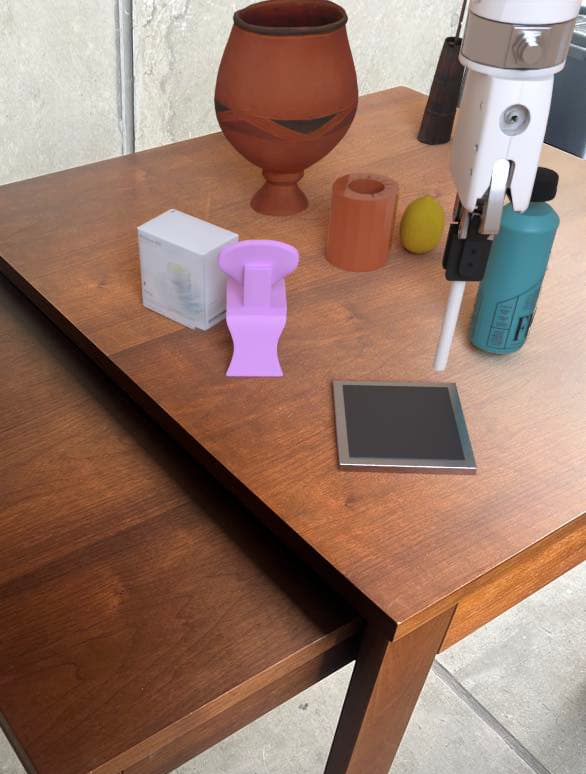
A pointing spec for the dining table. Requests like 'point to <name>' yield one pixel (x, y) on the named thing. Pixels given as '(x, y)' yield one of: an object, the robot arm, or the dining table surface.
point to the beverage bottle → (516, 271)
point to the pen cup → (361, 221)
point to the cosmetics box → (184, 268)
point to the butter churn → (444, 91)
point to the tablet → (401, 428)
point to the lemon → (422, 225)
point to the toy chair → (256, 302)
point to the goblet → (286, 93)
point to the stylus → (449, 323)
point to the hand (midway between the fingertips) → (461, 273)
